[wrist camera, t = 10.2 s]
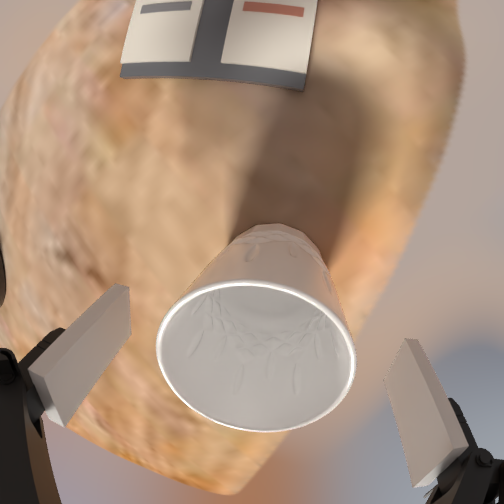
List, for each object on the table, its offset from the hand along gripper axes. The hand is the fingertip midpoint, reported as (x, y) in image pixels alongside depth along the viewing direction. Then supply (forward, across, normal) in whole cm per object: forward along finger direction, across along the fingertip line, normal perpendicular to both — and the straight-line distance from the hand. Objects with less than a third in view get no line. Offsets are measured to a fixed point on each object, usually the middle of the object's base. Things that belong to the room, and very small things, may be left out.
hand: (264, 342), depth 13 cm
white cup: (+8, 0, 0) cm, 8 cm away
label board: (+8, -6, +16) cm, 19 cm away
